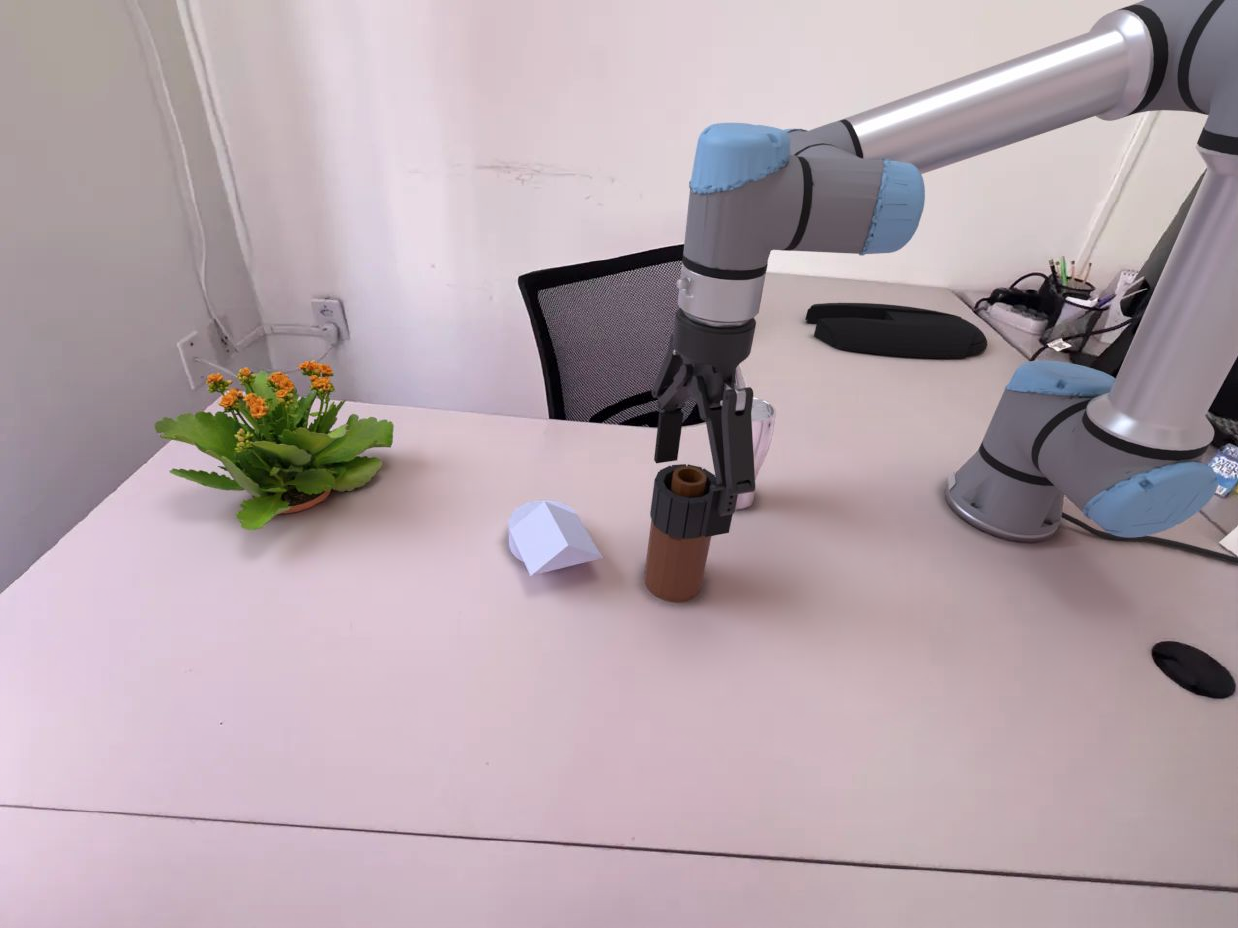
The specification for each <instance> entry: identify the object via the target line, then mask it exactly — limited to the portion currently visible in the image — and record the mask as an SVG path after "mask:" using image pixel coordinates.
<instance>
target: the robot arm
mask: <svg viewBox="0 0 1238 928" xmlns="http://www.w3.org/2000/svg"><path fill="white" fill-rule="evenodd" d="M1156 111H1157V112H1159V111H1171V112H1173V111H1174V112H1188V113H1198V114H1201V115H1206V116H1207V118H1206V121H1205V123H1204V125H1203V127H1202V130H1201V133H1200V134H1199V136H1198V140H1197V142H1196V145H1195V149H1196V151H1197V152H1198V154H1199V155H1200V157H1201V158H1202V160H1203V162H1204V163H1205V166H1206V171H1205V173H1204V176H1203V177H1202V180H1201V182H1200V185H1199V186H1198V189H1197V192H1196V193H1195V197H1194V198H1193V200H1192V203H1191V205H1190V208H1189V210H1188V212H1187V214H1186V217H1185V219H1184V222H1183V224H1182V226H1181V229H1180V230H1179V233H1178V235H1177V238H1176V240H1175V242H1174V243H1173V246H1172V249H1171V251H1170V252H1169V253H1170V254H1169V255H1168V258H1167V261H1166V263H1165V265H1164V267H1163V270H1162V272H1161V274H1160V276H1159V279H1158V281H1157V283H1156V286H1155V287H1154V290H1153V292H1152V295H1151V297H1150V299H1149V301H1148V304H1147V306H1146V309H1145V311H1144V312H1143V316H1142V318H1141V320H1140V322H1139V325H1138V327H1137V329H1136V332H1135V334H1134V336H1133V337H1132V341H1131V343H1130V345H1129V348H1128V350H1127V351H1126V354H1125V357H1124V359H1123V362H1122V364H1121V366H1120V368H1119V371H1118V372H1117V375H1116V377H1114V376H1112V375H1111V374H1109V373H1106V372H1104V371H1102V370H1098V369H1095V368H1092V367H1089V366H1085V365H1080V364H1076V363H1072V362H1066V361H1058V360H1047V359H1046V360H1045V359H1043V360H1031V361H1027V362H1024V363H1023V364H1021V365H1019V366H1018V367H1017V368H1016V369H1015V371H1014V373H1013V375H1012V376H1011V378H1010V380H1009V382H1008V384H1006V385H1005V387H1004V391H1003V393H1002V395H1001V397H1000V400H999V402H998V404H997V406H996V409H995V411H994V413H993V416H992V418H991V420H990V423H989V424H988V426H987V429H986V431H985V434H984V436H983V438H982V441H981V443H980V445H979V447H978V449H977V451H976V452H975V453H974V454H973V455H972V456H971V457H970V458H969V459H968V460H967V461H966V462H965V463H964V464H963V465H962V466H961V467H960V468H958V470H957V471H956V472H953V473H952V474H950V476H949V477H948V478H947V485H946V487H945V491H944V498H945V500H946V502H947V504H948V506H949V507H950V509H951V510H952V511H953V512H954V513H955V514H956V515H957V516H958V517H959V518H961V519H962V520H963V521H964V522H966V523H968V524H969V525H970V526H972V527H974V528H976V529H978V530H980V531H982V532H984V533H986V534H989V535H992V536H994V537H997V538H1000V539H1004V540H1008V541H1013V542H1019V543H1038V542H1039V543H1040V542H1043V541H1046V540H1049V539H1051V537H1053V536H1054V535H1055V533H1056V531H1057V529H1058V528H1059V526H1060V524H1061V521H1062V519H1064V520H1066V521H1068V522H1070V523H1072V524H1074V525H1076V526H1077V527H1080V528H1082V529H1083V530H1085V531H1087V532H1088V533H1090V534H1092V535H1094V536H1097V537H1100V538H1105V539H1110V540H1118V541H1142V542H1149V543H1150V542H1151V543H1157V544H1161V545H1166V546H1169V547H1174V548H1179V549H1183V550H1187V551H1190V552H1193V553H1198V554H1201V555H1205V556H1209V557H1212V558H1217V559H1220V560H1224V561H1227V562H1231V563H1235V564H1238V557H1237V556H1233V555H1229V554H1225V553H1222V552H1218V551H1215V550H1211V549H1208V548H1203V547H1200V546H1196V545H1193V544H1188V543H1184V542H1181V541H1177V540H1172V539H1167V538H1162V537H1157V536H1152V535H1156V534H1159V533H1162V532H1164V531H1168V530H1170V529H1172V528H1174V527H1176V526H1177V525H1180V524H1182V523H1183V522H1185V521H1187V520H1189V519H1190V518H1192V517H1193V516H1195V515H1196V514H1198V513H1199V512H1200V511H1201V510H1202V509H1204V507H1205V506H1206V505H1208V504H1209V502H1210V501H1211V500H1212V499H1213V497H1214V496H1215V494H1216V493H1217V490H1218V487H1219V477H1218V476H1217V473H1216V472H1215V471H1214V469H1213V467H1212V466H1210V465H1208V463H1207V462H1203V458H1204V455H1205V453H1206V452H1207V450H1208V448H1209V447H1210V445H1211V444H1212V441H1213V440H1214V437H1215V429H1214V427H1213V425H1212V424H1211V422H1210V421H1209V419H1208V418H1207V414H1208V411H1209V409H1210V407H1211V406H1212V404H1213V402H1214V400H1215V399H1216V397H1217V395H1218V393H1219V391H1220V389H1221V387H1222V386H1223V384H1224V381H1225V380H1226V379H1227V376H1228V375H1229V373H1230V371H1231V370H1232V367H1233V365H1234V364H1235V362H1236V360H1237V358H1238V0H1141V1H1138V2H1135V3H1133V4H1130V5H1128V6H1124V7H1121V8H1118V9H1116V10H1113V11H1111V12H1108V13H1106V14H1105V15H1102V16H1101V17H1100V18H1098V20H1096V22H1095V23H1094V24H1093V25H1092V27H1091V28H1090V29H1089V31H1087V32H1085V33H1082V34H1080V35H1077V36H1074V37H1071V38H1069V39H1065V40H1063V41H1059V42H1057V43H1054V44H1052V45H1051V44H1050V45H1048V46H1045V47H1043V48H1040V49H1036V50H1034V51H1032V52H1029V53H1025V54H1023V55H1021V56H1017V57H1014V58H1012V59H1009V60H1007V61H1003V62H1000V63H997V64H994V65H991V66H989V67H986V68H983V69H980V70H977V71H974V72H972V73H969V74H966V75H964V76H960V77H958V78H955V79H952V80H949V81H947V82H944V83H941V84H938V85H935V86H932V87H929V88H927V89H924V90H922V91H918V92H915V93H913V94H909V95H907V96H904V97H902V98H898V99H895V100H892V101H890V102H887V103H884V104H881V105H878V106H875V107H873V108H871V109H868V110H865V111H861V112H859V113H856V114H853V115H851V116H847V117H844V118H843V119H839V120H836V121H833V122H829V123H827V124H826V123H825V124H823V125H820V126H817V127H814V128H812V129H809V130H807V129H803V128H785V129H781V128H778V127H774V126H769V125H763V124H752V123H745V122H717V123H714V124H710V125H708V126H707V127H705V128H704V129H703V130H702V131H701V132H700V134H699V136H698V139H697V142H696V148H695V154H694V160H693V166H692V171H691V177H690V180H689V182H688V188H689V196H688V202H687V203H688V204H687V214H686V223H685V233H684V243H683V253H682V259H681V260H682V262H681V270H680V278H678V279H677V280H676V288H677V290H678V296H677V305H678V306H679V308H678V309H677V310H676V312H675V316H674V325H673V333H671V334H670V336H669V341H668V347H667V351H666V354H665V357H664V359H663V361H662V363H661V366H660V369H659V371H658V373H657V376H656V379H655V381H654V383H653V385H652V387H651V395H652V398H654V399H656V398H657V402H656V407H657V409H658V411H659V412H658V422H657V428H656V437H655V438H656V439H655V448H654V455H653V456H654V457H653V461H654V462H655V464H657V465H658V464H663V463H668V462H675V461H678V458H679V452H680V451H679V450H680V443H681V435H682V430H683V429H682V428H683V420H684V412H683V411H682V410H681V409H684V408H686V407H687V406H686V404H685V403H686V402H687V401H688V400H689V399H690V398H692V399H693V400H694V402H695V403H696V404H697V407H698V412H699V417H700V420H702V421H703V422H704V423H705V426H706V430H707V436H708V437H707V438H708V441H709V448H710V452H711V461H712V465H713V471H714V475H715V477H716V481H713V482H711V485H710V491H709V497H708V503H707V508H706V514H705V520H704V525H703V531H702V533H703V534H704V536H705V537H709V536H711V537H715V536H719V535H723V534H724V535H725V534H730V530H731V524H732V519H733V516H734V513H735V511H736V510H735V508H736V503H737V498H738V494H743V493H749V492H754V493H755V491H756V480H755V471H754V453H753V436H752V418H751V411H752V403H753V397H754V389H753V388H752V387H751V386H747V387H740V386H739V385H737V378H736V377H737V376H736V373H737V372H736V371H737V370H736V369H737V368H738V367H739V365H740V364H741V363H743V362H744V361H745V360H747V359H748V358H749V356H750V355H751V353H752V348H753V343H754V337H755V333H756V326H757V320H756V319H755V317H757V315H758V314H759V313H760V308H761V302H762V296H763V292H764V286H765V281H766V274H767V270H768V265H769V264H768V263H769V258H770V255H771V252H772V251H786V252H811V253H813V252H814V253H829V254H830V253H831V254H850V255H851V254H853V255H855V254H856V255H859V256H861V257H862V256H865V255H879V254H892V253H895V252H898V251H900V250H901V249H903V248H904V247H905V246H906V245H907V244H908V243H909V242H910V241H911V240H912V238H913V237H914V235H915V233H916V232H917V230H918V227H919V225H920V222H921V218H922V214H923V212H924V207H925V203H926V189H925V181H924V177H923V175H924V174H926V173H929V172H932V171H935V170H939V169H942V168H944V167H948V166H950V165H953V164H956V163H959V162H962V161H965V160H969V159H971V158H974V157H977V156H981V155H983V154H986V153H989V152H992V151H995V150H998V149H1001V148H1004V147H1008V146H1010V145H1013V144H1016V143H1019V142H1023V141H1024V140H1028V139H1031V138H1034V137H1036V136H1040V135H1043V134H1046V133H1048V132H1052V131H1055V130H1058V129H1061V128H1064V127H1066V126H1069V125H1072V124H1075V123H1076V124H1077V123H1078V122H1082V121H1085V120H1087V119H1091V118H1094V117H1096V118H1097V119H1100V120H1102V121H1107V122H1108V121H1109V122H1113V121H1117V120H1121V119H1124V118H1126V117H1129V116H1131V115H1136V114H1141V113H1146V112H1147V113H1148V112H1156ZM719 407H721V409H713V410H712V408H719ZM677 409H678V410H677ZM1065 497H1066V498H1067V499H1068V500H1069V501H1070V502H1071V503H1072V504H1073V505H1074V506H1075V507H1076V508H1077V509H1078V510H1079V511H1080V512H1082V514H1083V516H1084V517H1085V518H1087V519H1088V520H1091V521H1093V522H1094V523H1095V524H1097V525H1098V527H1100V528H1101V529H1102V530H1104V531H1102V530H1099V529H1097V528H1095V527H1092V526H1090V525H1089V524H1088V523H1086V522H1083V521H1082V520H1080V519H1078V518H1076V517H1074V516H1072V515H1070V514H1068V513H1066V512H1063V511H1064V500H1065Z"/></svg>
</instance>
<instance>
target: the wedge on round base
mask: <svg viewBox="0 0 1238 928" xmlns="http://www.w3.org/2000/svg"><path fill="white" fill-rule="evenodd" d="M507 529H508V548H509V551H510V552H511V554H512V555H513V556H514V558H516V559H517V560H518V561H520V562H522V563H524V566H525V567H526V569H527V571H528V574H529V576H530V577H532V576H536V575H540V574H544V573H549V572H552V571H556V570H560V569H564V568H568V567H572V566H576V565H580V564H585V563H587V562H592V561H595V560H600V559H603V558H604V557H603V554H602V553H601V552H600V550H599V548H598V547H597V545H596V543H595V541H594V540H593V538H592V536H591V535H590V533H589V532H588V530H587V528H586V526H585V524H584V523H583V521H582V520H581V518H580V516H579V515H578V513H577V512H576V511H575V510H574V509H573V508H572V507H570V506H569V505H567V504H565V503H563V502H559V501H556V500H550V499H549V500H547V499H545V500H544V499H540V500H539V499H538V500H534V501H529V502H526V503H523V504H521V505H519V507H517V508H515V509H514V510H513V512H511V514H510V516H509V518H508V522H507Z"/></svg>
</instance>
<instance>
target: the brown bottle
mask: <svg viewBox="0 0 1238 928" xmlns="http://www.w3.org/2000/svg"><path fill="white" fill-rule="evenodd" d="M706 479H707V477H706V475H705V473H704V472H703V471H702V470H700V469H698V468H696V467H691V466H687V465H686V466H682V467H679V468H677V469H675V471H674V473H673V478H672V485H671V492H673V493H674V494H676V495H679V496H683V497H687V498H696V497H703V496H704V490H705V485H706ZM711 541H712V536H709V537H705V536H702V537H700V536H699V538H693V539H684V537H683V538H682V539H680V538H676V537H672V536H669V535H668V533H667V534H664V533H663V532H662V531H660V530H659V529H658V528H656V527H655V525H654V524H653V521H652V519H651V518H650V528H649V535H648V542H647V543H648V544H647V552H646V559H645V568H644V584H645V586H646V589H648V591H649V592H650V593H651V594H652V595H654V596H655V597H657V598H659V599H661V600H663V601H667V602H671V603H672V602H673V603H681V602H687V601H689V600H692V599H694V597H696V596H697V595H698V594H699V593H700V591H701V589H702V584H703V582H704V581H703V580H704V576H705V571H706V566H707V560H708V556H709V551H710V545H711Z"/></svg>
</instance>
